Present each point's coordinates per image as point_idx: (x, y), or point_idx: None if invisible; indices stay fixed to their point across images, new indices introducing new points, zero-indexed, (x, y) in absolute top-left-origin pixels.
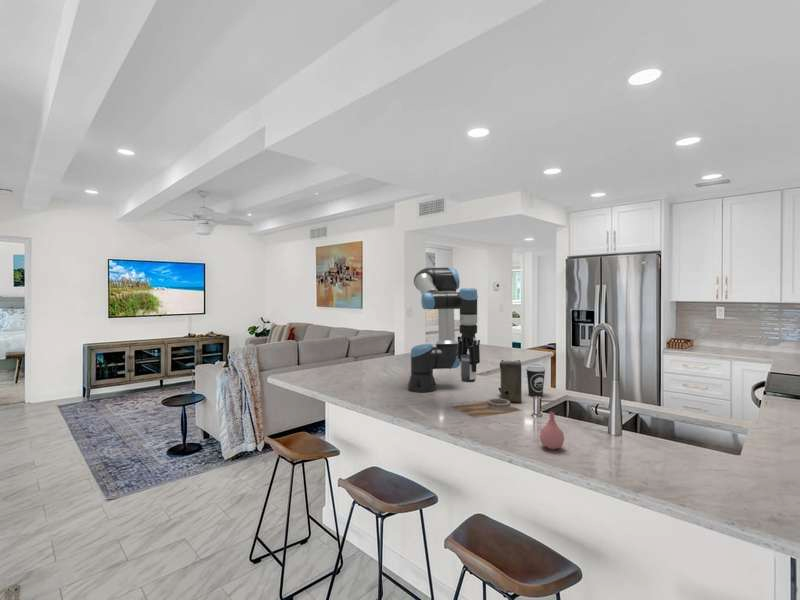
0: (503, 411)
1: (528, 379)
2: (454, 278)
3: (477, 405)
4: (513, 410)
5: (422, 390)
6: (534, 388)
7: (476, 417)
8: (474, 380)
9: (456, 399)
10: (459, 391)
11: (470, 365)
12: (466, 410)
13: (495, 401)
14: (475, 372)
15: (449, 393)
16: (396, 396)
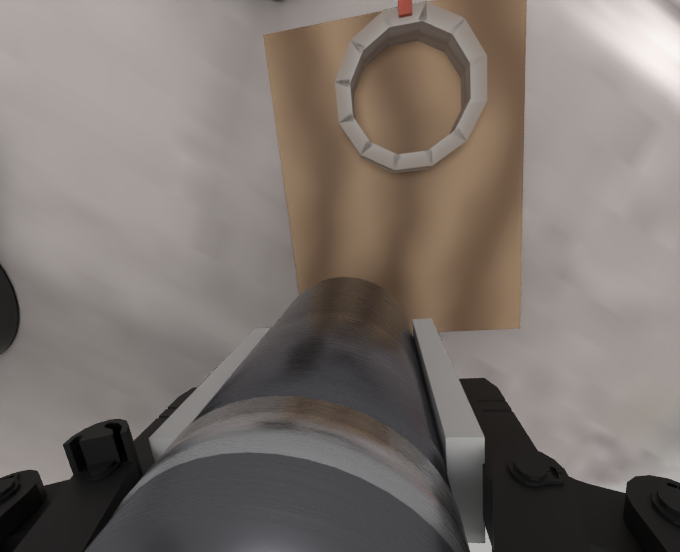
0: (493, 123)
1: None
2: None
3: (333, 207)
4: (504, 47)
5: (7, 325)
6: None
7: (515, 318)
8: (403, 312)
9: (154, 225)
10: (12, 133)
11: (473, 522)
12: None
13: (351, 87)
14: (446, 358)
15: (44, 205)
16: (65, 438)
